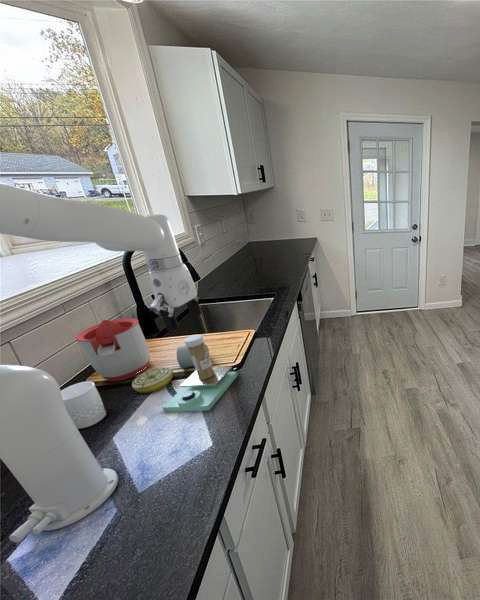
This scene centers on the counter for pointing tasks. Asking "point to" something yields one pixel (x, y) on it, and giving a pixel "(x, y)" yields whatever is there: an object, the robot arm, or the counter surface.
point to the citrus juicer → (116, 348)
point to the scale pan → (212, 381)
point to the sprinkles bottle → (199, 356)
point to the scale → (200, 396)
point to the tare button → (188, 395)
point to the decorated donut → (152, 380)
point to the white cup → (83, 404)
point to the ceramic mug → (185, 356)
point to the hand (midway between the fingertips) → (185, 321)
